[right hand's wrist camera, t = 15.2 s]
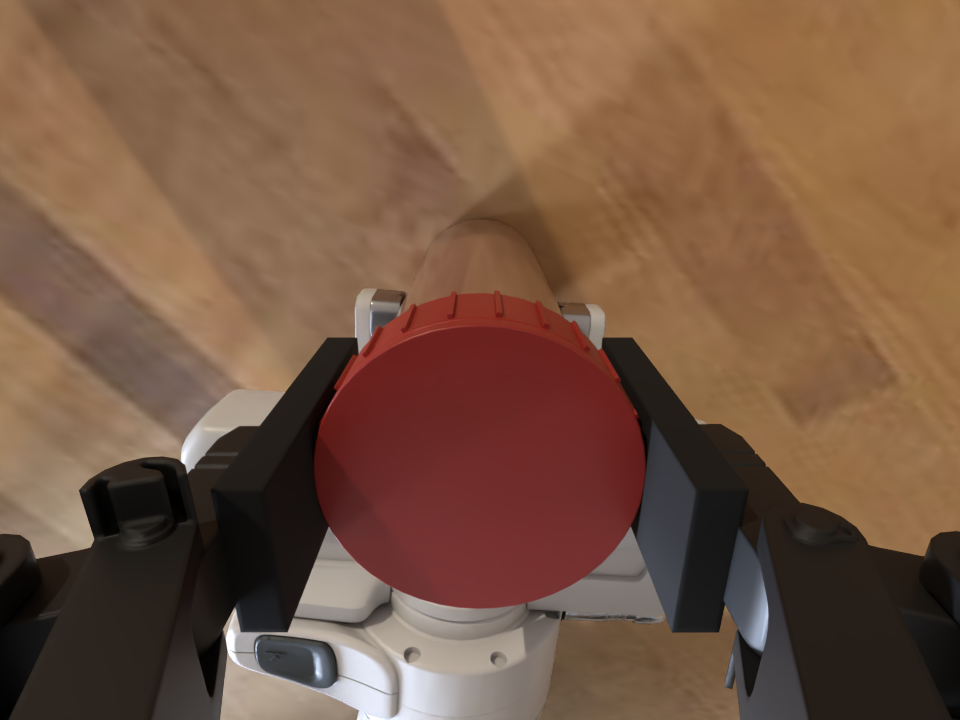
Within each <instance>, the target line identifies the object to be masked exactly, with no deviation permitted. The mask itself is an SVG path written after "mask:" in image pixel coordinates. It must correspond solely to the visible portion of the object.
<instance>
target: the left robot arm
mask: <svg viewBox="0 0 960 720" xmlns="http://www.w3.org/2000/svg"><path fill="white" fill-rule="evenodd" d="M405 296H406V292H405V291H393V290H382V289H373V288H363V289H362V291H361V292H360V293H359V295H358V296H357V300H356V307H355V338H357V339H358V351H359V353H360V351H361V350H362V348H363V347H364V346H365V345H366V344H367V343H368V342H369V340H370V338H371V337H372V335H373V333H374V331H375V329H376V328H377V327H378V326H379V325H380V326H381V327H382V328H383V327H384V326H385V325H386V324H388V323H389V322H390V321H392V320H393V319H395V317H396V315H397V313H398V311H399V309H400V307H401V305H402V303H403V301H404V299H405ZM557 303H558V305H559V307H560V309H561V311H562V314H563V316H564V318H565V319H566V320H568V321H569V322H572V321H573V320H574V321H576V322H577V324H578V325H579V327H580V329H581V331H582V333H584V334H585V335H586V336H587V337H588V338H589V340H590V341H591V342H592V343H593V344H594V346H595V347H596V348H597V349H598V350H599V349H601V347H602V338H604V333H605V327H606V323H605V313H604V312H603V310H602V309H601V307H600V306H599V305H596V304H582V303H565V302H557ZM284 394H285V392H281V391H266V390H252V389H238V390H234V391H232V392H230V393H229V394H227V395H226V396H225V397H224V398H223V399H222V400H220V401H219V402H218V403H217V404H216V405H215V406H214V407H213V408H211V409H210V410H209V411H208V412H207V413H206V414H205V415H204V416H203V417H202V419H201V420H200V421H199V422H198V423H197V424H196V425H195V427H194V428H193V429H192V431H191V432H190V433H189V435H188V436H187V438H186V440H185V442H184V444H183V447H182V451H181V462H182V463H183V464H185V466H186V470H187V474H188V473H189V471H190V470H191V469H194V468H195V465H196V463H197V462H198V461H199V460H200V459H201V458H202V457H203V456H205V453H206V452H207V451H208V450H209V449H210V447H211V446H212V445H213V444H214V443H215V442H216V441H217V439H218V438H220V437H222V436H223V435H225V434H227V433H228V432H230V431H232V430H233V429H235V428H237V427H238V426H260V425H261V423H262V422H263V421H264V420H265V418H266V417H267V416H268V414H269V413H270V412H271V410H272V409H273V408H274V407H275V405H276V404H277V403H278V401H279V400H280V399H281V397H282V396H283V395H284ZM695 420H696V421H697V423H698V424H707V423H705V422H704V421H702V420H698V419H695ZM665 618H666V616H665V613H664V611H663V608H662V605H661V603H660V600H659V598H658V595H657V593H656V590H655V588H654V585H653V582H652V580H651V577H650V575H649V572H648V570H647V567H646V564H645V562H644V559H643V557H642V554H641V552H640V549H639V546H638V544H637V541H636V539H635V536H634V534H633V531H632V528H631V527H630V528H629V530H628V532H627V534H626V536H625V537H624V538H623V540H622V541H621V542H620V544H619V545H618V546H617V548H616V549H615V550H614V551H613V552H612V553H611V555H610V556H609V557H608V558H607V559H606V560H605V561H604V562H603V563H602V564H601V565H599V566H598V567H597V568H596V569H594V570H593V571H592V572H591V573H590V574H588V575H587V576H585V577H584V578H582V579H581V580H579V581H578V582H576V583H574V584H573V585H571V586H569V587H567V588H565V589H563V590H561V591H559V592H557V593H555V594H553V595H550V596H547V597H544V598H542V599H539V600H536V601H532V602H528V603H524V604H520V605H515V606H508V607H501V608H486V609H473V608H458V607H451V606H445V605H439V604H435V603H432V602H428V601H424V600H420V599H418V598H415V597H413V596H410V595H407V594H405V593H402V592H400V591H398V590H396V589H395V588H393V587H391V586H389V585H387V584H385V583H383V582H382V581H380V580H379V579H377V578H376V577H374V576H373V575H371V574H370V573H369V572H368V571H366V570H365V569H364V568H363V567H362V566H360V565H359V564H358V563H357V562H356V561H355V560H354V559H353V558H352V557H351V556H350V555H349V554H348V553H347V552H346V550H345V549H344V548H343V547H342V546H341V544H340V543H339V541H338V540H337V539H336V537H335V536H334V534H333V533H332V531H331V529H330V527H329V528H328V530H327V533H326V535H325V538H324V540H323V543H322V546H321V548H320V551H319V553H318V556H317V558H316V561H315V564H314V566H313V569H312V571H311V574H310V576H309V579H308V582H307V584H306V587H305V589H304V592H303V594H302V597H301V599H300V602H299V605H298V607H297V610H296V612H295V615H294V617H293V620H292V623H291V625H290V628H289V630H288V632H241V631H240V627H239V622H238V617H237V613H236V609H235V612H234V615H233V617H232V620H231V623H230V626H229V629H228V632H227V648H228V652H229V655H230V657H231V658H232V660H233V661H234V662H235V663H237V664H238V665H240V666H242V667H244V668H246V669H249V670H252V671H256V672H259V673H263V674H266V675H270V676H273V677H277V678H280V679H283V680H287V681H290V682H293V683H296V684H299V685H302V686H305V687H308V688H311V689H313V690H316V691H319V692H321V693H324V694H326V695H328V696H331V697H333V698H335V699H338V700H340V701H342V702H344V703H346V704H348V705H350V706H352V707H353V708H355V709H357V710H359V713H358V716H357V720H539V718H540V716H541V714H542V712H543V709H544V706H545V704H546V701H547V697H548V692H549V688H550V682H551V676H552V670H553V664H554V658H555V652H556V645H557V640H558V635H559V629H560V623H561V621H562V619H563V620H578V621H610V620H611V621H612V620H624V621H632V622H633V623H638V624H658V623H662V622H664V621H665Z"/></svg>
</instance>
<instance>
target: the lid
mask: <svg viewBox="0 0 960 720" xmlns="http://www.w3.org/2000/svg"><path fill="white" fill-rule="evenodd" d="M620 381H621V380H620V378H619V376H618V374H617V373H616V371H615V369H614V368H613V366H612V364H611V362H610V361H609V359H608V357H607V356H606V354H605V352H604V351H603V349H602V348H601V349H599V350H598V349H597V348H596V347H595V346H594V344H593V343H592V342H591V341H590V340H589V338H588V337H587V336H586V335H585V334H584V333H582V331H581V329H580V327H579V325H578V324H577V322H576V321H574V320H573V321H572V322H569V321H568V320H566V319H565V318H563V317H562V316H560V315H559V314H557V313H555V312H553V311H551V310H549V309H547V308H545V307H543V305H542V302H541V301H538V300H536V303H533V302H530V301H527V300H524V299H521V298H516V297H512V296H507V295H502V294H500V291H496V290H495V291H494V294H489V293H471V294H459V295H457V293H456V291H455V292H451V296H448V297H442V298H439V299H436V300H433V301H429V302H426V303H423V304H421V305H419V306H416V304H415V303H414V304H412V305H410V307H409V310H408V311H406V312H404V313H403V314H401V315H399V316H398V317H396V318H395V319H393V320H392V321H390V322H389V323H388V324H386V325H385V326H384V327H383V328H382V327H381V326H380V325H379V326H378V327H377V328H376V329H375V331H374V333H373V335H372V337H371V338H370V340H369V342H368V343H367V344H366V345H365V346H364V347H363V348H362V350H361V351H360V353H359V355H358V356H356V355H353V356H352V358H351V359H350V361H349V363H348V365H347V366H346V368H345V370H344V371H343V373H342V375H341V376H340V378H339V380H338V381H337V383H336V385H335V387H334V389H336V390H337V392H336V394H335V395H334V397H333V399H332V401H331V402H330V404H329V406H328V408H327V409H326V411H325V413H324V415H323V416H322V418H321V420H320V422H319V425H318V426H320V427H319V431H318V435H317V438H316V442H315V449H314V458H313V467H314V477H315V485H316V492H317V499H318V502H319V504H320V507H321V510H322V513H323V516H324V518H325V520H326V522H327V524H328V525H329V527H330V529H331V531H332V533H333V534H334V536H335V537H336V539H337V540H338V541H339V543H340V544H341V546H342V547H343V548H344V549H345V550H346V552H347V553H348V554H349V555H350V556H351V557H352V558H353V559H354V560H355V561H356V562H357V563H358V564H359V565H360V566H362V567H363V568H364V569H365V570H366V571H368V572H369V573H370V574H371V575H373V576H374V577H376V578H377V579H379V580H380V581H382V582H383V583H385V584H387V585H389V586H391V587H393V588H395V589H396V590H398V591H400V592H402V593H405V594H407V595H410V596H413V597H415V598H418V599H420V600H424V601H428V602H432V603H435V604H439V605H445V606H451V607H458V608H473V609H486V608H501V607H508V606H515V605H520V604H524V603H528V602H532V601H536V600H539V599H542V598H544V597H547V596H550V595H553V594H555V593H557V592H559V591H561V590H563V589H565V588H567V587H569V586H571V585H573V584H574V583H576V582H578V581H579V580H581V579H582V578H584V577H585V576H587V575H588V574H590V573H591V572H592V571H593V570H594V569H596V568H597V567H598V566H599V565H601V564H602V563H603V562H604V561H605V560H606V559H607V558H608V557H609V556H610V555H611V553H612V552H613V551H614V550H615V549H616V548H617V546H618V545H619V544H620V542H621V541H622V540H623V538H624V537H625V536H626V534H627V532H628V530H629V528H630V527H631V525H632V523H633V521H634V519H635V517H636V514H637V512H638V509H639V506H640V504H641V500H642V496H643V490H644V483H645V474H646V453H645V445H644V440H643V436H642V432H641V428H640V426H639V423H638V421H637V419H639V416H638V413H637V412H636V410H635V408H634V406H633V405H632V403H631V401H630V399H629V398H628V396H627V394H626V392H625V391H624V389H623V387H622V385H621V384H620Z"/></svg>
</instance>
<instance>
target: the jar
mask: <svg viewBox="0 0 960 720" xmlns="http://www.w3.org/2000/svg"><path fill="white" fill-rule="evenodd" d="M495 290H496V291H500V294H502V295H507V296H512V297H516V298H521V299H524V300H527V301H530V302H533V303H536V300H538V301H541V302H542V305H543V307H545V308H547V309H549V310H551V311H553V312H555V313H557V314H559V315H560V316H562V317H563V318H564V316H563V314H562V311H561V309H560V307H559V305H558V303H557V301H556V299H555V297H554V295H553V292H552V290H551V288H550V286H549V284H548V282H547V280H546V278H545V276H544V273H543V271H542V269H541V267H540V265H539V263H538V261H537V259H536V257H535V254H534V252H533V250H532V249H531V247H530V245H529V244H528V243H527V241H526V240H525V239H524V238H523V237H522V236H521V235H520V234H519V233H518V232H517V231H515V230H514V229H512V228H511V227H509V226H507V225H505V224H503V223H500V222H497V221H493V220H488V219H472V220H467V221H463V222H460V223H457V224H455V225H453V226H451V227H449V228H448V229H446V230H445V231H443V232H442V233H441V234H440V235H439V236H438V237H437V238H436V239H435V240H434V241H433V242H432V244H431V245H430V247H429V248H428V250H427V252H426V254H425V256H424V259H423V261H422V263H421V265H420V267H419V269H418V271H417V273H416V275H415V277H414V280H413V282H412V284H411V286H410V288H409V290H408V292H407V294H406V296H405V299H404V301H403V303H402V305H401V307H400V309H399V311H398V313H397V315H396V317H398V316H399V315H401V314H403V313H404V312H406V311H408V310H409V307H410V305H412V304H414V303H415V304H416V306H419V305H421V304H423V303H426V302H429V301H433V300H436V299H439V298H442V297H448V296H451V292H455V291H456V293H457V295H459V294H471V293H489V294H494V291H495ZM396 317H395V318H396Z"/></svg>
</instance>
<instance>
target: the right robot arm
mask: <svg viewBox="0 0 960 720" xmlns="http://www.w3.org/2000/svg"><path fill="white" fill-rule="evenodd" d="M601 348H602V349H603V351H604V352H605V354H606V356H607V357H608V359H609V361H610V362H611V364H612V366H613V368H614V369H615V371H616V373H617V374H618V376H619V378H620V380H621V381H620V384H621V385H622V387H623V389H624V391H625V392H626V394H627V396H628V398H629V399H630V401H631V403H632V405H633V406H634V408H635V410H636V412H637V413H638V416H639V419H637V421H638V423H639V426H640V428H641V432H642V436H643V440H644V445H645V453H646V474H645V483H644V490H643V496H642V500H641V504H640V506H639V509H638V512H637V514H636V517H635V519H634V521H633V523H632V525H631V528H632V531H633V534H634V536H635V539H636V541H637V544H638V546H639V549H640V552H641V554H642V557H643V559H644V562H645V564H646V567H647V570H648V572H649V575H650V577H651V580H652V582H653V585H654V588H655V590H656V593H657V595H658V598H659V600H660V603H661V605H662V608H663V611H664V613H665V616H666V618H667V621H668V623H669V626H670V629H671V631H672V632H719V630H720V625H721V620H722V616H723V611H724V606H725V605H726V607H727V609H728V610H729V612H730V614H731V616H732V618H733V620H734V622H735V624H736V626H737V631H736V636H735V640H734V645H733V649H732V653H731V658H730V662H729V666H728V671H727V675H726V681H725V687H727V688H730V689H732V688H733V684H734V679H735V677H736V685H737V694H738V703H739V711H740V720H960V532H958V531H954V532H942V533H939V534H937V535H936V536H934V537H933V538H931V540H930V543H929V546H928V549H927V551H926V554H925V557H923V556H918V555H913V554H908V553H903V552H898V551H893V550H888V549H883V548H878V547H874V546H870V545H868V543H867V541H866V539H865V538H864V536H863V535H862V534H861V533H860V531H859V530H858V529H857V527H855V526H854V525H852V524H851V523H850V522H848V521H847V520H845V519H844V518H843V517H841V516H839V515H837V514H835V513H832V512H830V511H828V510H826V509H824V508H821V507H817V506H813V505H809V504H805V503H800V502H799V501H798V500H797V499H796V498H795V496H794V495H793V494H792V493H791V492H790V491H789V490H788V489H787V487H786V486H785V485H784V484H783V483H782V482H781V481H780V479H779V478H778V477H777V476H776V475H775V474H774V473H773V472H772V470H771V469H770V468H769V467H766V466H765V462H764V461H763V460H762V459H761V458H760V457H759V456H758V455H757V454H755V451H754V450H753V449H752V448H751V447H750V445H749V444H748V443H747V442H746V441H745V440H744V439H743V437H741V436H740V435H738V434H736V433H735V432H733V431H731V430H730V429H728V428H726V427H725V426H723V425H721V424H698V423H697V421H696V420H695V419H694V417H693V416H692V415H691V413H690V412H689V411H688V410H687V408H686V407H685V406H684V404H683V403H682V402H681V400H680V399H679V398H678V397H677V395H676V394H675V393H674V391H673V390H672V389H671V387H670V386H669V385H668V384H667V382H666V381H665V380H664V378H663V377H662V376H661V374H660V373H659V372H658V371H657V369H656V368H655V367H654V365H653V364H652V363H651V361H650V360H649V359H648V358H647V356H646V355H645V354H644V352H643V351H642V350H641V348H640V347H639V346H638V345H637V343H636V342H635V341H634V339H633V338H602V347H601ZM353 355H356V356H358V355H359V351H358V339H357V338H327V339H326V340H325V342H324V343H323V344H322V345H321V347H320V348H319V349H318V351H317V352H316V353H315V355H314V356H313V357H312V358H311V360H310V361H309V362H308V364H307V365H306V366H305V368H304V369H303V370H302V371H301V373H300V374H299V375H298V377H297V378H296V379H295V381H294V382H293V383H292V384H291V386H290V387H289V388H288V390H287V391H286V392H285V394H284V395H283V396H282V397H281V399H280V400H279V401H278V403H277V404H276V405H275V407H274V408H273V409H272V410H271V412H270V413H269V414H268V416H267V417H266V418H265V420H264V421H263V422H262V423H261V425H260V426H238V427H237V428H235V429H233V430H232V431H230V432H228V433H227V434H225V435H223V436H222V437H220V438H218V439H217V441H216V442H215V443H214V444H213V445H212V446H211V447H210V449H209V450H208V451H207V452H206V453H205V456H203V457H202V458H201V459H200V460H199V461H198V462H197V463H196V465H195V468H194V469H191V470H190V471H189V473H188V474H187V470H186V466H185V464H183V463H182V462H180V461H179V460H178V459H174V458H168V457H148V458H141V459H137V460H132V461H128V462H124V463H121V464H119V465H116V466H114V467H111V468H109V469H106V470H104V471H102V472H101V473H99V474H98V475H96V476H94V477H93V478H91V479H89V480H88V481H87V482H86V483H85V485H84V486H83V487H82V488H81V489H80V490H79V492H80V495H81V499H82V502H83V505H84V508H85V511H86V514H87V517H88V521H89V524H90V527H91V530H92V533H93V536H94V539H95V540H94V542H93V544H92V546H91V548H88V549H84V550H79V551H74V552H69V553H64V554H59V555H54V556H49V557H44V558H39V559H36V558H35V555H34V553H33V550H32V547H31V545H30V542H29V541H28V540H27V539H25V538H24V537H22V536H21V535H12V534H0V720H220V713H221V704H222V695H223V687H224V678H225V669H226V660H227V646H226V640H225V636H224V631H223V628H224V626H225V624H226V622H227V620H228V618H229V616H230V615H231V613H232V611H233V609H234V607H235V608H236V613H237V617H238V622H239V627H240V631H241V632H288V630H289V628H290V625H291V623H292V620H293V617H294V615H295V612H296V610H297V607H298V605H299V602H300V599H301V597H302V594H303V592H304V589H305V587H306V584H307V582H308V579H309V576H310V574H311V571H312V569H313V566H314V564H315V561H316V558H317V556H318V553H319V551H320V548H321V546H322V543H323V540H324V538H325V535H326V533H327V530H328V528H329V525H328V524H327V522H326V520H325V518H324V516H323V513H322V510H321V507H320V504H319V502H318V499H317V492H316V485H315V477H314V467H313V458H314V449H315V442H316V438H317V435H318V431H319V427H320V426H318V425H319V422H320V420H321V418H322V416H323V415H324V413H325V411H326V409H327V408H328V406H329V404H330V402H331V401H332V399H333V397H334V395H335V394H336V392H337V390H336V389H334V387H335V385H336V383H337V381H338V380H339V378H340V376H341V375H342V373H343V371H344V370H345V368H346V366H347V365H348V363H349V361H350V359H351V358H352V356H353Z"/></svg>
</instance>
